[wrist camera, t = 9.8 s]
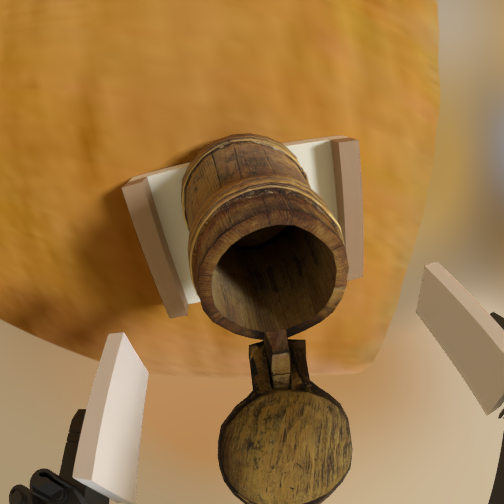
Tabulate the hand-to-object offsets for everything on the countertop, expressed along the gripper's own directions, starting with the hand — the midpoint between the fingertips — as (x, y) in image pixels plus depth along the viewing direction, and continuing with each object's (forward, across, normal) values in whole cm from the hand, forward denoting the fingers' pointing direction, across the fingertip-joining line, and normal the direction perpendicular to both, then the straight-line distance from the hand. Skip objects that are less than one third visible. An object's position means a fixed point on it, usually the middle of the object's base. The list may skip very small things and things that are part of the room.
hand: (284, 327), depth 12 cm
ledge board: (+13, 0, -1) cm, 13 cm away
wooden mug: (+12, 0, 0) cm, 12 cm away
